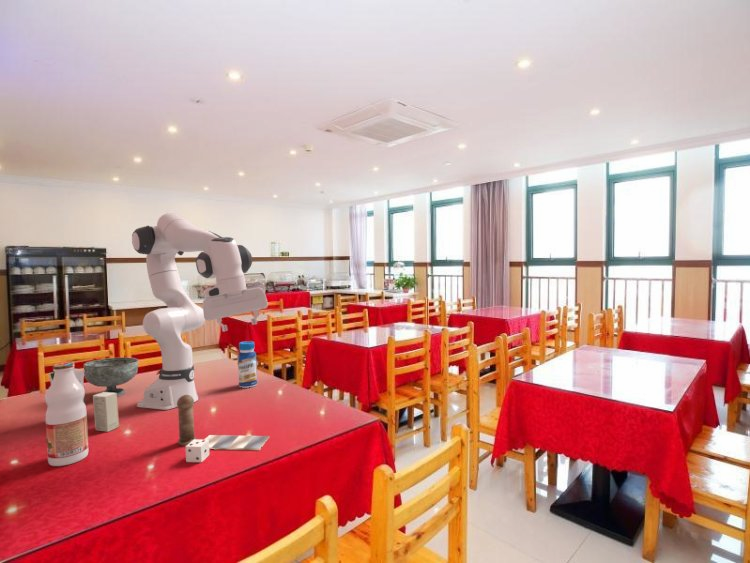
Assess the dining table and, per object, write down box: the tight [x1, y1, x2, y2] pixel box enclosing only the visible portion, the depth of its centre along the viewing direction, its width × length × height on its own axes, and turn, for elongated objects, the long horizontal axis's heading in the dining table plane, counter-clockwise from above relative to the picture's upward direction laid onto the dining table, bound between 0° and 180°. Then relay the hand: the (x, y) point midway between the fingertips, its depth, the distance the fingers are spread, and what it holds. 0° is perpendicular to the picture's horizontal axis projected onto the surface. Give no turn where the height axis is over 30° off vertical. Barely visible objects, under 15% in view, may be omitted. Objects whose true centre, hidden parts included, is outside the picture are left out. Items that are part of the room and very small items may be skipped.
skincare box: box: [92, 391, 120, 432], centre depth 137 cm, size 6×4×12 cm
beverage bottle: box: [237, 340, 258, 389], centre depth 183 cm, size 8×8×20 cm
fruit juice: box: [44, 361, 90, 467], centre depth 116 cm, size 9×9×28 cm
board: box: [203, 434, 270, 451], centre depth 124 cm, size 20×9×1 cm, turn 85°
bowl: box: [83, 356, 140, 397], centre depth 174 cm, size 20×19×15 cm
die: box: [185, 438, 210, 463], centre depth 115 cm, size 5×5×5 cm
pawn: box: [177, 395, 197, 447], centre depth 125 cm, size 5×5×15 cm
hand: (240, 327), depth 132 cm, fingers open, 8 cm apart
